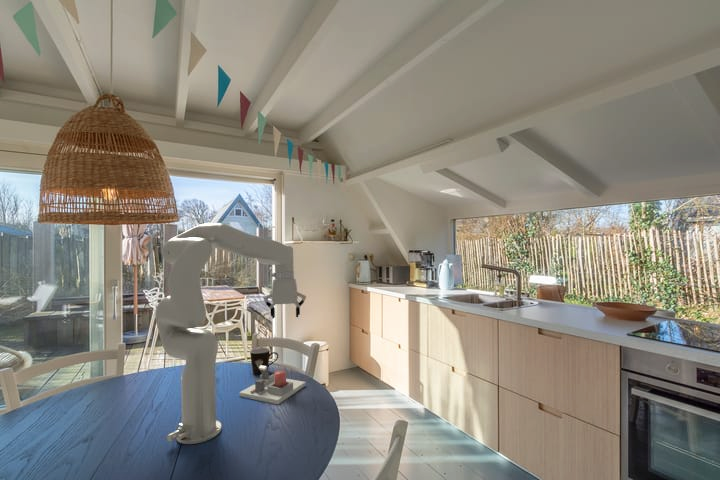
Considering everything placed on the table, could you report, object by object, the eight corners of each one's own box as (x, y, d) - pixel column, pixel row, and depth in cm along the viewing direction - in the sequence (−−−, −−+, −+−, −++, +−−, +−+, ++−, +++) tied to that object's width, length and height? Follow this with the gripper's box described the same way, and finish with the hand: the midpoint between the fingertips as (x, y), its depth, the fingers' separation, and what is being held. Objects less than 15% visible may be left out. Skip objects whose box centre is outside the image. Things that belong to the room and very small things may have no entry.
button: (281, 387, 131) (281, 375, 131) (272, 385, 133) (271, 373, 133) (288, 383, 135) (288, 371, 135) (279, 381, 137) (279, 369, 137)
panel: (277, 404, 126) (277, 393, 126) (239, 396, 133) (239, 385, 133) (305, 385, 142) (305, 375, 142) (270, 379, 150) (270, 370, 150)
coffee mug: (246, 375, 155) (246, 352, 155) (257, 368, 163) (257, 347, 163) (269, 377, 152) (269, 354, 152) (279, 370, 160) (279, 348, 160)
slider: (260, 392, 132) (260, 382, 132) (255, 391, 133) (255, 381, 133) (264, 390, 134) (264, 379, 134) (259, 389, 135) (259, 379, 135)
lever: (269, 381, 143) (264, 368, 140) (263, 379, 144) (258, 367, 142) (271, 378, 144) (266, 366, 142) (265, 377, 145) (260, 365, 143)
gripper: (261, 277, 140) (262, 320, 140) (305, 275, 142) (306, 318, 142) (264, 275, 147) (265, 316, 147) (305, 274, 149) (306, 314, 149)
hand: (285, 317), depth 144 cm, fingers open, 9 cm apart
